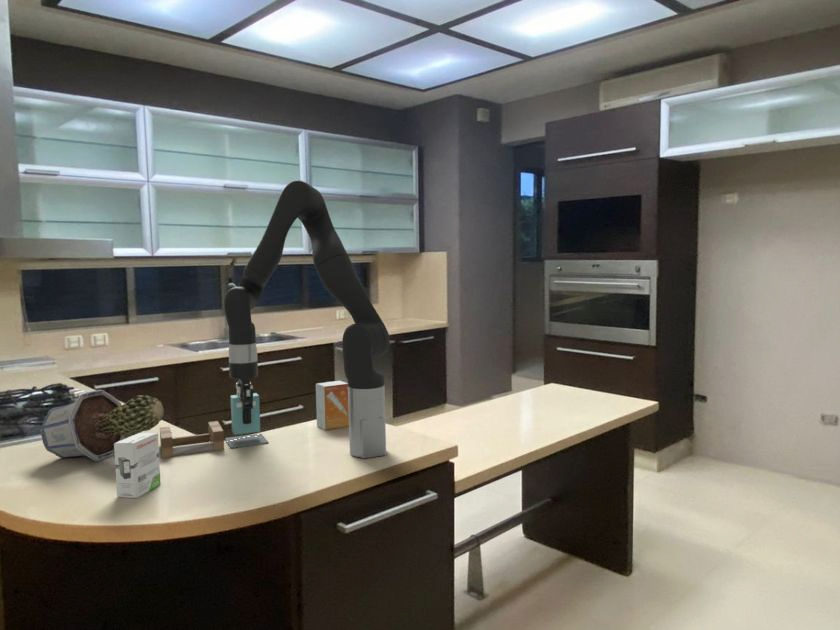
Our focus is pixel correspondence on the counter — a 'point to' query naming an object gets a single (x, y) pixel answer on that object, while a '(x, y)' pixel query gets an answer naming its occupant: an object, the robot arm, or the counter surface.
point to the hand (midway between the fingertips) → (245, 421)
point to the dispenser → (192, 441)
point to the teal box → (238, 418)
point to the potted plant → (97, 424)
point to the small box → (332, 405)
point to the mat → (246, 440)
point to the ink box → (137, 465)
